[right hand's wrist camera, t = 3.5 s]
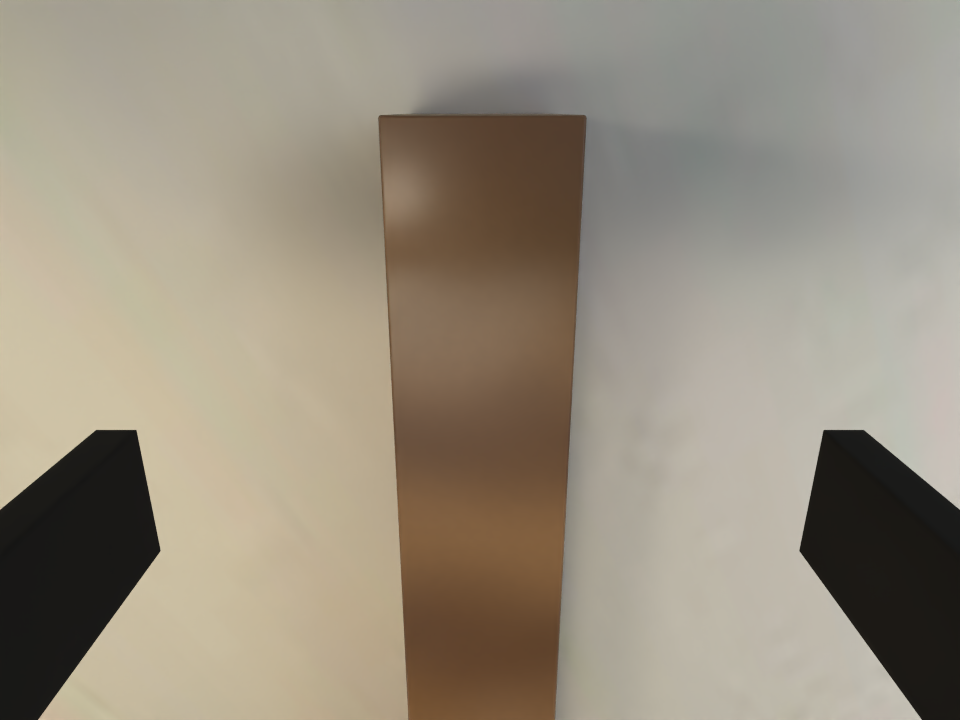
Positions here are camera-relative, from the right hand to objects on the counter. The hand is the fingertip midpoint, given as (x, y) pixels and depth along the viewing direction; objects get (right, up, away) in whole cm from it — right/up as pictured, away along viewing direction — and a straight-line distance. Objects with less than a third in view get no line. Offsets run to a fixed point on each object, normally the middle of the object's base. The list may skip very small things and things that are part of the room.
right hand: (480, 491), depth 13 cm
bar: (0, -14, +21) cm, 25 cm away
